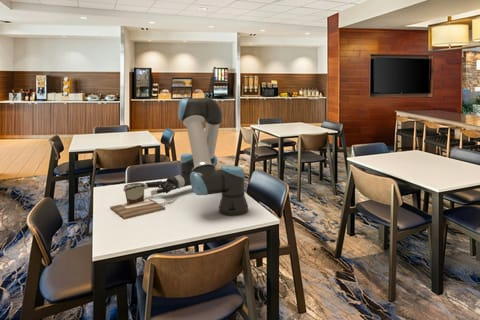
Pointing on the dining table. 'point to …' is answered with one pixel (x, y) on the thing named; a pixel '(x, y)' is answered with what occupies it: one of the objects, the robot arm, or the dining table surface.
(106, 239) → the dining table surface
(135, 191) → the food container
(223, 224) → the dining table surface
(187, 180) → the robot arm
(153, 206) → the board
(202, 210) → the dining table surface
